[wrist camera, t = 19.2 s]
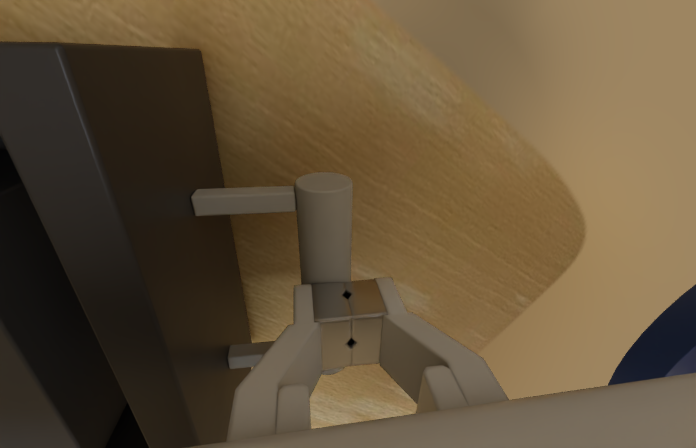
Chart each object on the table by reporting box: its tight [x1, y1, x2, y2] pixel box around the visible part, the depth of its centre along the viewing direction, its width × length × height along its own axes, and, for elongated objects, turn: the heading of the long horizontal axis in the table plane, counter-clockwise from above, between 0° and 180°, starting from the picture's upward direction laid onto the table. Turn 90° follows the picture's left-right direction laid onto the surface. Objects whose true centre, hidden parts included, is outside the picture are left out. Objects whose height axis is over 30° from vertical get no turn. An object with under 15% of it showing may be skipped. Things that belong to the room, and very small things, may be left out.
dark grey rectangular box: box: [0, 150, 127, 448], centre depth 9 cm, size 4×8×5 cm, turn 179°
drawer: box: [0, 42, 353, 448], centre depth 10 cm, size 19×13×7 cm
